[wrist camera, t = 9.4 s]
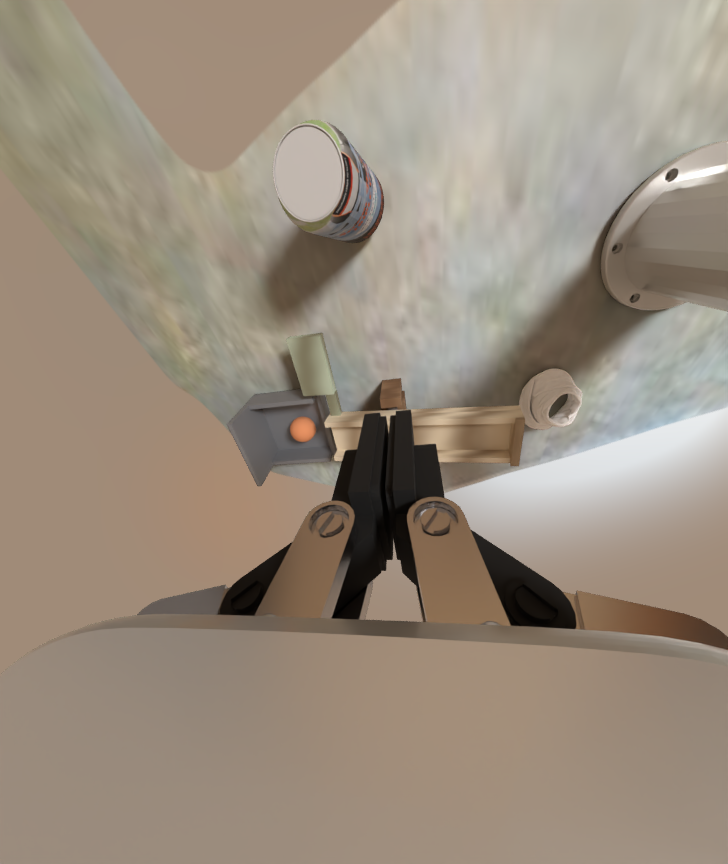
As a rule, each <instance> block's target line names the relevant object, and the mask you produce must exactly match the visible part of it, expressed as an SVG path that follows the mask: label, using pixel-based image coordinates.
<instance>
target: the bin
mask: <svg viewBox="0 0 728 864" xmlns="http://www.w3.org/2000/svg"><path fill="white" fill-rule="evenodd" d="M329 414H330V412H329V408H328V405H327V401H326V397H325V395H316V396H303V393H302V389H298V390H289V391H280V392H272V393H263V394H254V396H253V397H252V398H251V399H250V400H249V401H248V402H247V403H246V404H245V405H244V406H243V407H242V408H241V410H240V411H239V412H238V413H237V414H236V415H235V416H234V417H233V418H232V419H231V420H230V421H229V423H228V424H227V426H228V428H229V430H230V432H231V434H232V436H233V438H234V440H235V442H236V444H237V446H238V448H239V450H240V452H241V454H242V456H243V458H244V460H245V462H246V464H247V466H248V468H249V470H250V472H251V474H252V476H253V478H254V480H255V482H256V484H257V486H262V484H263V482H264V481H265V479H266V477H267V475H268V473H269V472H270V470H271V468H272V466H273V465H281V464H297V463H312V462H327V461H331V458H332V455H335V453H336V451H337V447H336V444H335V440H334V436H333V433H332V429H331V427H328V428H325V424H324V422H325V421H326V419H327V417H328V416H329ZM298 417H308V418H310V419H311V420H312V421H313V422H314V424H315V426H316V432H315V435H314V437H313V438H312V439H311V440H309V441H306V442H299V441H297V440H295V439H294V438H293V437H292V435H291V433H290V425H291V423H292V422H293V420H295V419H296V418H298Z"/></svg>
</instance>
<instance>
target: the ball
mask: <svg viewBox="0 0 728 864" xmlns="http://www.w3.org/2000/svg"><path fill="white" fill-rule="evenodd" d="M315 432H316V426H315V424H314V422H313V421H312V420H311V419H310V418H308V417H298V418H296V419H295V420H293V422H292V423H291V425H290V433H291V435H292V437H293V438H294V439H295V440H297V441H299V442H306V441H309V440H311V439H312V438H313V437H314V435H315Z"/></svg>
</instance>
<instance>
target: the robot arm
mask: <svg viewBox="0 0 728 864" xmlns="http://www.w3.org/2000/svg"><path fill="white" fill-rule="evenodd" d="M666 175H667V177H666ZM665 177H666V179H665ZM613 246H614V249H613V250H612V248H613ZM601 275H602V280H603V283H604V285H605V288H606V290H607V291H608V292H609V294H610V295H611V296H612V297H613V298H614V299H615V300H617V301H618V302H619V303H621V304H624V305H626V306H629V307H632V308H636V309H640V310H660V309H667V308H671V307H674V306H678V305H681V304H684V303H686V302H689V303H694V304H698V305H702V306H706V307H710V308H714V309H719V310H723V311H727V312H728V141H721V142H717V143H713V144H709V145H706V146H702V147H700V148H697V149H695V150H692V151H690V152H687V153H685V154H683V155H681V156H679V157H678V158H676V159H674V160H673V161H671V162H669V163H667V164H666V165H664V166H663V167H662V168H661V169H659V170H658V171H657V172H655V173H654V174H653V175H651V176H650V177H649V178H648V179H647V180H646V181H645V182H644V183H643V184H642V185H641V186H640V187H639V188H638V189H637V190H636V191H635V192H634V193H633V194H632V196H631V197H630V198H629V199H628V201H627V202H626V203H625V204H624V206H623V207H622V208H621V210H620V212H619V213H618V215H617V217H616V218H615V220H614V221H613V223H612V225H611V228H610V230H609V232H608V234H607V237H606V239H605V243H604V246H603V250H602V255H601ZM393 539H394V543H395V550H396V555H397V559H398V560H401V566H402V572H403V574H405V575H406V576H407V577H408V578H409V579H410V580H411V581H412V582H413V583H414V584H415V585H416V590H417V595H418V600H419V606H420V611H421V616H422V622H408V621H382V620H365V618H366V614H367V610H368V605H369V601H370V597H371V593H372V587H373V581H372V580H373V579H375V578H376V577H377V576H378V575H379V574H380V573H381V571H386V562H387V560H392V559H393ZM0 864H728V637H727V636H726V635H725V634H724V633H723V632H721V631H720V630H719V629H717V628H715V627H714V626H712V625H710V624H708V623H707V622H705V621H703V620H702V619H699V618H696V617H693V616H690V615H687V614H684V613H679V612H675V611H670V610H665V609H661V608H656V607H651V606H647V605H642V604H637V603H633V602H628V601H624V600H618V599H614V598H610V597H605V596H600V595H595V594H591V593H587V592H582V591H576V594H570V593H566V592H562V591H561V590H560V589H559V588H557V587H556V586H555V585H554V584H553V583H551V582H550V581H548V580H547V579H545V578H544V577H542V576H541V575H539V574H538V573H536V572H534V571H533V570H531V569H530V568H528V567H527V566H525V565H524V564H522V563H521V562H519V561H518V560H516V559H515V558H513V557H512V556H510V555H509V554H507V553H505V552H504V551H502V550H501V549H499V548H498V547H496V546H495V545H493V544H492V543H490V542H489V541H487V540H485V539H484V538H483V537H481V536H479V535H478V534H476V533H475V532H473V531H472V530H470V527H469V525H468V523H467V520H466V518H465V515H464V513H463V512H462V510H461V508H460V507H459V506H457V504H455V503H454V502H452V501H450V500H448V499H446V498H444V491H443V485H442V479H441V472H440V466H439V460H438V453H437V447H436V444H424V445H414V434H413V424H412V414H411V410H402V411H396V415H391V416H390V426H389V431H388V425H387V418H386V416H381V415H380V413H370V414H365V415H364V419H363V424H362V428H361V433H360V438H359V442H358V447H357V449H354V450H346V451H345V453H344V456H343V460H342V464H341V468H340V471H339V475H338V479H337V482H336V486H335V490H334V494H333V497H332V501H328V502H325V503H322V504H320V505H318V506H316V507H315V508H313V509H312V510H311V511H310V512H309V513H308V515H307V516H306V518H305V519H304V521H303V523H302V525H301V527H300V529H299V531H298V533H297V535H296V536H295V539H294V541H293V542H292V543H290V544H289V545H287V546H286V547H285V548H283V549H282V550H280V551H279V552H278V553H276V554H275V555H273V556H272V557H270V558H269V559H267V560H266V561H265V562H263V563H262V564H260V565H259V566H258V567H256V568H255V569H254V570H252V571H250V572H249V573H248V574H246V575H245V576H243V577H242V578H241V579H239V580H238V581H237V582H236V583H235V584H233V585H232V587H230V588H228V587H227V586H226V585H221V586H217V587H213V588H208V589H204V590H200V591H195V592H190V593H186V594H182V595H177V596H173V597H168V598H164V599H160V600H158V601H155V602H153V603H151V604H150V605H148V606H147V607H145V608H144V609H142V610H141V611H140V612H139V614H137V615H134V616H128V617H120V618H115V619H111V620H106V621H102V622H99V623H95V624H91V625H88V626H85V627H83V628H80V629H77V630H75V631H72V632H69V633H67V634H64V635H61V636H59V637H57V638H54V639H52V640H50V641H48V642H46V643H44V644H42V645H40V646H39V647H37V648H35V649H33V650H32V651H30V652H29V653H27V654H26V655H24V656H23V657H21V658H20V659H18V660H17V661H16V662H14V663H13V664H12V665H11V666H10V667H9V668H7V669H6V670H5V671H4V672H3V673H1V674H0Z"/></svg>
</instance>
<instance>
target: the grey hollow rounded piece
mask: <svg viewBox="0 0 728 864" xmlns="http://www.w3.org/2000/svg"><path fill="white" fill-rule="evenodd" d="M564 394H568V399H567V401H566V403H565V404H564V405H563V406H562V408H561V409H559V411H558V412H557V413H556V414H555V415H553V416H552V417H550V418H549V410H550V407H551V406H552V404H553V403H554V402H555V401H556V400H557V399H558V398H559V397H560V396H561V395H564ZM581 398H582V391H581V390H580V389H579V388H578V387H576V385H575V383H574V381H573V379H572V377H571V376H570V375H569V374H568V373H567V372H566V371H564V370H561V369H548V370H545V371H543V372H542V373H539V374H537V375H536V376H534V377H533V378H532V379H531V380H530V381H529V382H528V383H527V384H526V385H525V386H524V388H523V390H522V393H521V395H520V399H519V406H520V408H521V411H522V413H523V415H524V418H525V424H526V425H528V426H529V427H530V428H534V429H541V430H545V429H549V428H550V427H552V426H556V427H563V426H567V425H569V424H571V423H572V422H573V421H574V419H575V417H576V415H577V412H578V409H579V407H580V406H581V404H582V399H581Z"/></svg>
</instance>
